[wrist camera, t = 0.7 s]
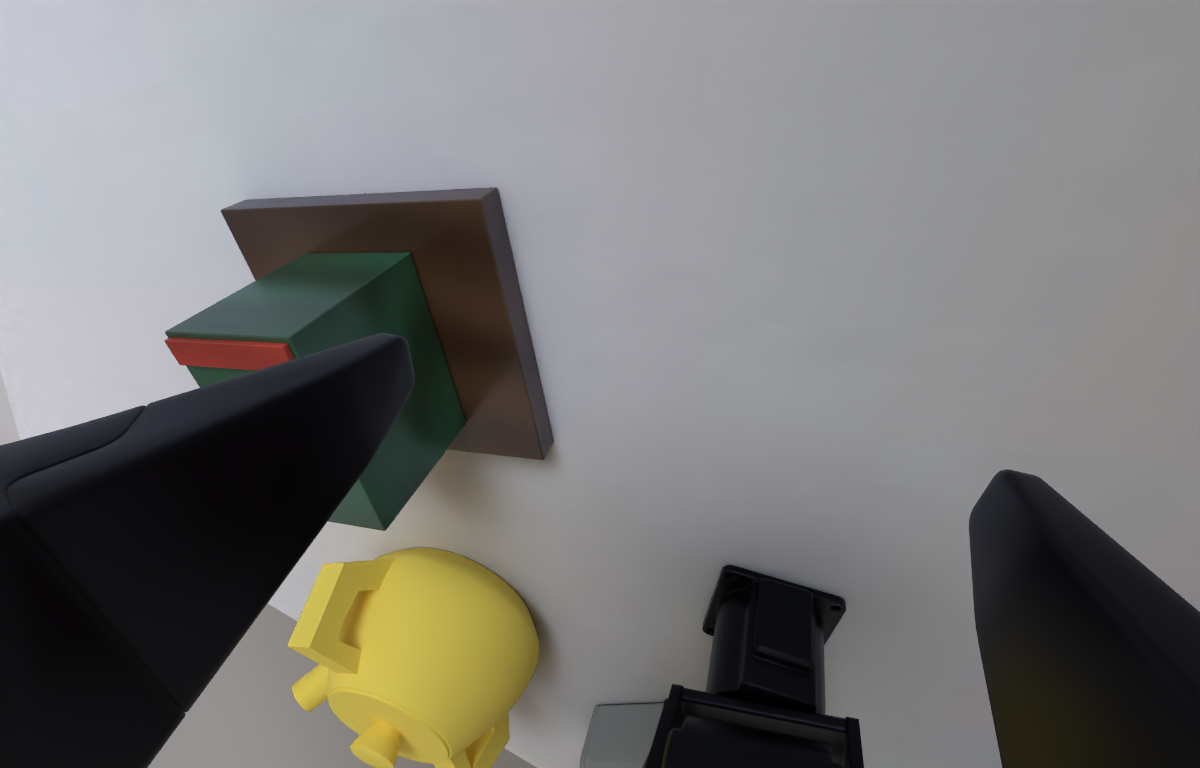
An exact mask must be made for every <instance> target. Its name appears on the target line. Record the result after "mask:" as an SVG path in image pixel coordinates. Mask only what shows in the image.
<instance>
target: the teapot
mask: <svg viewBox="0 0 1200 768" xmlns="http://www.w3.org/2000/svg"><path fill="white" fill-rule="evenodd" d="M287 646H288V647H289V648H291V649H293V650H295V651H297V652H299V653H300V654H302V655H304V656H306V657H308V658H310V659H311V660H313V661H315V662H317V663H319V665H318V666H317V667H315V668H314V669H313V670H311V671H310V672H309V673H307V674H306V675H305V676H303V677H302V678H301V679H300V680H298V681H297V682H296V683H294V684H293V685H292V691H293V694H294V696H295V698H296V700H297V702H298V703H299V704H300V706H301V707H302V708H303V709H304V710H306V711H308V712H310V711H312V710H313V709H314V708H316V707H317V706H318V705H320V704H321V703H322V702H324V701H325V700H326V699H328V701H329V705H330V707H331V709H332V711H333V712H334V713H335V714H336V716H337V717H338V718H339V719H340V720H341V721H342V722H343V723H345V724H346V725H347V726H348V727H349V728H351V729H352V730H354V731H355V732H356V733H358V734H359V735H360V736H359V737H358V738H357V739H356V740H355V741H354V742H353V743H352V745H351V746H350V749H351V750H352V752H353V753H354V755H355V756H356V757H357V758H359V759H360V760H361V761H363V762H365V763H366V764H368V765H370V766H372V767H375V768H394V766H395V762H396V759H397V755H399V756H402V757H405V758H408V759H411V760H414V761H419V762H424V763H433V764H434V765H435V767H436V768H491V767H492V765H493V764H494V762H495V761H496V759H497V758H498V756H499V755H500V753H501V752H502V750H503V748H504V747H505V745H506V744H507V742H508V741H509V739H510V733H509V716H508V711H509V710H510V709H511V708H512V707H513V705H514V704H515V703H516V701H517V700H518V698H519V697H520V696H521V694H522V693H523V691H524V690H525V688H526V687H527V685H528V683H529V682H530V680H531V678H532V676H533V674H534V672H535V670H536V667H537V665H538V662H539V651H540V646H539V640H538V636H537V632H536V629H535V626H534V623H533V621H532V618H531V615H530V613H529V610H528V608H527V607H526V605H525V603H524V602H523V600H522V599H521V598H520V596H519V595H518V594H517V593H516V592H515V591H514V589H513V588H511V587H510V586H509V585H508V584H507V583H506V582H505V581H504V580H502V579H501V578H500V577H499V576H497V575H496V574H494V573H493V572H492V571H490V570H489V569H487V568H485V567H484V566H482V565H480V564H478V563H476V562H474V561H472V560H470V559H468V558H466V557H463V556H461V555H458V554H455V553H452V552H449V551H445V550H441V549H434V548H423V547H420V548H411V549H406V550H401V551H396V552H393V553H389V554H386V555H383V556H380V557H378V558H375V559H374V560H369V561H355V562H342V563H328V564H323V566H322V568H321V570H320V573H319V575H318V577H317V580H316V582H315V584H314V586H313V589H312V591H311V593H310V595H309V598H308V600H307V602H306V605H305V607H304V609H303V611H302V614H301V616H300V618H299V620H298V623H297V625H296V627H295V630H294V632H293V634H292V636H291V639H290V641H289V643H288V645H287Z"/></svg>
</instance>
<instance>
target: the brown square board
mask: <svg viewBox="0 0 1200 768" xmlns="http://www.w3.org/2000/svg"><path fill="white" fill-rule="evenodd" d="M221 213H222V215H223V217H224V219H225V221H226V223H227V225H228V227H229V229H230V231H231V233H232V234H233V236H234V238H235V240H236V242H237V244H238V246H239V248H240V250H241V252H242V254H243V256H244V258H245V260H246V262H247V264H248V266H249V268H250V270H251V272H252V274H253V276H254V278H255V280H256V281H257V280H258V279H260V278H262V277H264V276H266V275H267V274H269V273H271V272H273V271H274V270H276V269H278V268H280V267H282V266H283V265H285V264H287V263H289V262H291V261H292V260H294V259H296V258H298V257H300V256H301V255H303V254H307V253H402V252H409V253H411V256H412V259H413V262H414V265H415V269H416V272H417V275H418V278H419V281H420V284H421V287H422V290H423V293H424V296H425V299H426V302H427V305H428V308H429V311H430V314H431V317H432V320H433V323H434V326H435V329H436V332H437V335H438V339H439V342H440V345H441V348H442V351H443V354H444V357H445V360H446V363H447V366H448V369H449V372H450V375H451V378H452V381H453V384H454V387H455V390H456V393H457V396H458V399H459V402H460V405H461V409H462V412H463V415H464V418H465V421H466V425H465V426H464V427H463V429H462V430H461V431H460V433H459V434H458V435H457V437H456V438H455V439H454V441H453V442H452V443H451V445H450V446H449V447H448V449H450V450H459V451H468V452H476V453H485V454H494V455H503V456H512V457H521V458H529V459H538V460H544V458H545V456H546V454H547V453H548V451H549V449H550V447H551V445H552V443H553V436H552V432H551V427H550V423H549V418H548V414H547V409H546V405H545V400H544V396H543V391H542V387H541V382H540V378H539V373H538V369H537V364H536V360H535V355H534V351H533V346H532V342H531V337H530V333H529V328H528V324H527V319H526V315H525V311H524V306H523V302H522V297H521V293H520V288H519V284H518V279H517V275H516V270H515V266H514V261H513V257H512V252H511V248H510V243H509V239H508V234H507V230H506V225H505V221H504V216H503V212H502V207H501V203H500V198H499V194H498V189H497V188H476V189H456V190H436V191H416V192H395V193H375V194H355V195H335V196H314V197H294V198H274V199H254V200H244V201H242V202H239V203H237V204H234V205H232V206H229V207H227V208H224V209H222V210H221Z"/></svg>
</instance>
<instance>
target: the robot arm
mask: <svg viewBox="0 0 1200 768" xmlns="http://www.w3.org/2000/svg"><path fill="white" fill-rule="evenodd" d="M414 380H415V378H414V371H413V365H412V360H411V354H410V349H409V344H408V342H407V340H406V339H405V338H403V337H401V336H397V335H392V334H388V333H378V334H375V335H372V336H368V337H365V338H362V339H359V340H355V341H352V342H349V343H345V344H342V345H339V346H336V347H332V348H329V349H326V350H323V351H319V352H316V353H313V354H309V355H306V356H303V357H300V358H296V359H293V360H290V361H287V362H283V363H280V364H277V365H273V366H270V367H267V368H264V369H260V370H257V371H254V372H251V373H247V374H244V375H241V376H237V377H234V378H231V379H228V380H224V381H221V382H218V383H215V384H211V385H208V386H205V387H202V388H198V389H195V390H192V391H188V392H185V393H182V394H179V395H175V396H172V397H169V398H166V399H162V400H159V401H156V402H152V403H150V404H148V405H147V407H146V406H139V407H136V408H132V409H129V410H126V411H123V412H119V413H116V414H113V415H109V416H106V417H103V418H99V419H96V420H92V421H89V422H85V423H82V424H79V425H75V426H72V427H68V428H65V429H61V430H57V431H53V432H50V433H46V434H42V435H39V436H35V437H31V438H27V439H24V440H20V441H17V442H13V443H9V444H5V445H1V446H0V768H147V767H148V766H149V765H150V763H151V761H152V760H153V759H154V758H155V756H156V755H157V754H158V752H159V751H160V750H161V748H162V747H163V745H164V744H165V743H166V741H167V740H168V738H169V737H170V736H171V735H172V733H173V731H174V730H175V729H176V728H177V726H178V725H179V724H180V722H181V721H182V719H183V718H184V717H185V712H187V711H189V709H190V708H191V707H192V705H193V704H194V703H195V701H196V700H197V698H198V697H199V696H200V694H201V693H202V692H203V690H204V689H205V688H206V686H207V685H208V683H209V682H210V681H211V679H212V678H213V677H214V675H215V674H216V673H217V671H218V670H219V668H220V667H221V666H222V664H223V663H224V662H225V660H226V659H227V657H228V656H229V655H230V653H231V652H232V651H233V649H234V648H235V647H236V645H237V644H238V642H239V641H240V640H241V638H242V637H243V636H244V634H245V633H246V632H247V630H248V629H249V628H250V626H251V625H252V623H253V622H254V621H255V619H256V618H257V617H258V615H259V614H260V613H261V611H262V610H263V608H264V607H265V606H266V604H267V603H268V602H269V600H270V599H271V598H272V596H273V595H274V593H275V592H276V591H277V589H278V588H279V587H280V585H281V584H282V583H283V581H284V580H285V578H286V577H287V576H288V574H289V573H290V572H291V570H292V569H293V568H294V566H295V565H296V563H297V562H298V561H299V559H300V558H301V557H302V555H303V554H304V553H305V551H306V550H307V548H308V547H309V546H310V544H311V543H312V542H313V540H314V539H315V538H316V536H317V535H318V533H319V532H320V531H321V529H322V528H323V527H324V525H325V524H326V523H327V521H328V520H329V518H330V517H331V516H332V514H333V513H334V512H335V510H336V509H337V508H338V506H339V505H340V503H341V502H342V501H343V499H344V498H345V497H346V495H347V494H348V493H349V491H350V490H351V488H352V487H353V486H354V484H355V483H356V482H357V480H358V479H359V478H360V476H361V475H362V473H363V472H364V471H365V469H366V468H367V466H368V465H369V463H370V462H371V460H372V459H373V457H374V456H375V454H376V452H377V451H378V449H379V447H380V446H381V444H382V442H383V440H384V439H385V437H386V435H387V434H388V432H389V430H390V428H391V427H392V425H393V423H394V421H395V420H396V418H397V416H398V415H399V413H400V411H401V409H402V408H403V406H404V404H405V402H406V401H407V399H408V397H409V396H410V394H411V392H412V390H413V387H414ZM969 535H970V551H971V566H972V582H973V598H974V612H975V622H976V630H977V636H978V642H979V648H980V653H981V658H982V663H983V669H984V674H985V679H986V684H987V689H988V694H989V700H990V705H991V710H992V715H993V720H994V725H995V731H996V736H997V741H998V746H999V751H1000V756H1001V762H1002V767H1003V768H1200V612H1199V611H1198V610H1197V609H1195V608H1194V607H1193V606H1192V605H1191V604H1189V603H1188V602H1187V601H1186V600H1185V599H1184V598H1182V597H1181V596H1180V595H1179V594H1178V593H1176V592H1175V591H1174V590H1173V589H1172V588H1170V587H1169V586H1168V585H1167V584H1166V583H1165V582H1163V581H1162V580H1161V579H1160V578H1159V577H1157V576H1156V575H1155V574H1154V573H1153V572H1151V571H1150V570H1149V569H1148V568H1147V567H1145V566H1144V565H1143V564H1142V563H1141V562H1140V561H1138V560H1137V559H1136V558H1135V557H1134V556H1132V555H1131V554H1130V553H1129V552H1128V551H1126V550H1125V549H1124V548H1123V547H1122V546H1121V545H1119V544H1118V543H1117V542H1116V541H1115V540H1113V539H1112V538H1111V537H1110V536H1109V535H1107V534H1106V533H1105V532H1104V531H1103V530H1102V529H1100V528H1099V527H1098V526H1097V525H1096V524H1094V523H1093V522H1092V521H1091V520H1090V519H1088V518H1087V517H1086V516H1085V515H1084V514H1082V513H1081V512H1080V511H1079V510H1078V509H1077V508H1075V507H1074V506H1073V505H1072V504H1071V503H1069V502H1068V501H1067V500H1066V499H1065V498H1063V497H1062V496H1061V495H1060V494H1059V493H1058V492H1056V491H1055V490H1054V489H1053V488H1052V487H1050V486H1049V485H1048V484H1047V483H1046V482H1044V481H1043V480H1042V479H1041V478H1039V477H1037V476H1035V475H1031V474H1026V473H1022V472H1017V471H1012V470H1002V471H1000V472H998V473H997V474H996V475H995V476H994V478H993V479H992V481H991V482H990V484H989V485H988V487H987V488H986V490H985V491H984V493H983V494H982V496H981V497H980V499H979V500H978V502H977V503H976V505H975V506H974V508H973V510H972V512H971V515H970V519H969ZM845 611H846V602H845V600H844V599H843V598H841V597H839V596H835V595H832V594H829V593H825V592H822V591H818V590H815V589H811V588H808V587H805V586H801V585H798V584H794V583H791V582H787V581H784V580H781V579H777V578H774V577H770V576H767V575H763V574H760V573H757V572H753V571H750V570H746V569H743V568H739V567H736V566H732V565H726V566H724V567H723V568H722V571H721V574H720V577H719V579H718V582H717V585H716V588H715V591H714V594H713V596H712V599H711V602H710V605H709V608H708V611H707V613H706V616H705V619H704V622H703V631H704V632H705V633H706V634H708V635H711V636H714V638H713V645H712V652H711V659H710V666H709V673H708V680H707V687H706V692H702V691H697V690H692V689H687V688H684V687H683V686H681V685H676V684H672V687H671V691H670V694H669V697H668V699H667V698H666V700H665V701H664V705H663V709H662V713H661V716H660V719H659V723H658V726H657V729H656V733H655V736H654V739H653V743H652V746H651V749H650V751H649V754H648V756H647V758H646V760H645V762H644V764H643V767H642V768H864V764H863V755H862V745H861V736H860V726H859V719H856V718H850V717H846V719H844V718H839V717H834V716H828V715H825V675H824V645H825V643H826V641H827V640H828V638H829V637H830V635H831V633H832V632H833V630H834V629H835V627H836V625H837V624H838V622H839V621H840V619H841V617H842V616H843V614H844V613H845Z"/></svg>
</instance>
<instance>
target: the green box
mask: <svg viewBox="0 0 1200 768" xmlns="http://www.w3.org/2000/svg"><path fill="white" fill-rule="evenodd" d="M165 333H166V335H167V336H168V339H166V340H165V343H166V344H167V346H168V347H169V349H170V350H171V352H172V354H173V355H174V357H175V358H176V360H177V361H178V363H179V364H180V365H186V366H187V368H188V369H189V371H190V373H191V374H192V376H193V377H194V379H195V380H196V382H197V384H198V385H199V387H200V388H202V387H205V386H208V385H211V384H215V383H218V382H221V381H224V380H228V379H231V378H234V377H237V376H241V375H244V374H247V373H251V372H254V371H257V370H260V369H264V368H267V367H270V366H273V365H277V364H280V363H283V362H287V361H290V360H293V359H296V358H300V357H303V356H306V355H309V354H313V353H316V352H319V351H323V350H326V349H329V348H332V347H336V346H339V345H342V344H345V343H349V342H352V341H355V340H359V339H362V338H365V337H368V336H372V335H375V334H378V333H388V334H392V335H397V336H401V337H403V338H405V339H406V340H407V342H408V344H409V349H410V354H411V360H412V365H413V371H414V378H415V380H414V387H413V390H412V392H411V394H410V396H409V397H408V399H407V401H406V402H405V404H404V406H403V408H402V409H401V411H400V413H399V415H398V416H397V418H396V420H395V421H394V423H393V425H392V427H391V428H390V430H389V432H388V434H387V435H386V437H385V439H384V440H383V442H382V444H381V446H380V447H379V449H378V451H377V452H376V454H375V456H374V457H373V459H372V460H371V462H370V463H369V465H368V466H367V468H366V469H365V471H364V472H363V473H362V475H361V476H360V478H359V479H358V480H357V482H356V483H355V484H354V486H353V487H352V488H351V490H350V491H349V493H348V494H347V495H346V497H345V498H344V499H343V501H342V502H341V503H340V505H339V506H338V508H337V509H336V510H335V512H334V513H333V514H332V516H331V517H330V518H329V520H328V521H330V522H335V523H341V524H347V525H353V526H359V527H365V528H371V529H376V530H382V531H385V530H386V529H387V528H388V527H389V525H390V524H391V523H392V521H393V520H394V519H395V517H396V516H397V515H398V514H399V512H400V511H401V510H402V508H403V507H404V506H405V504H406V503H407V502H408V500H409V499H410V498H411V496H412V495H413V494H414V492H415V491H416V490H417V488H418V487H419V486H420V484H421V483H422V482H423V480H424V479H425V478H426V476H427V475H428V474H429V472H430V471H431V470H432V469H433V467H434V466H435V465H436V463H437V462H438V461H439V459H440V458H441V457H442V455H443V454H444V453H445V451H446V450H447V449H448V447H449V446H450V445H451V443H452V442H453V441H454V439H455V438H456V437H457V435H458V434H459V433H460V431H461V430H462V429H463V427H464V426H465V425H466V421H465V418H464V415H463V412H462V409H461V405H460V402H459V399H458V396H457V393H456V390H455V387H454V384H453V381H452V378H451V375H450V372H449V369H448V366H447V363H446V360H445V357H444V354H443V351H442V348H441V345H440V342H439V339H438V335H437V332H436V329H435V326H434V323H433V320H432V317H431V314H430V311H429V308H428V305H427V302H426V299H425V296H424V293H423V290H422V287H421V284H420V281H419V278H418V275H417V272H416V269H415V265H414V262H413V259H412V256H411V253H409V252H402V253H307V254H303V255H301V256H300V257H298V258H296V259H294V260H292V261H291V262H289V263H287V264H285V265H283V266H282V267H280V268H278V269H276V270H274V271H273V272H271V273H269V274H267V275H266V276H264V277H262V278H260V279H258V280H257V281H255V282H253V283H251V284H249V285H248V286H246V287H244V288H242V289H241V290H239V291H237V292H235V293H233V294H232V295H230V296H228V297H226V298H224V299H223V300H221V301H219V302H217V303H216V304H214V305H212V306H210V307H208V308H207V309H205V310H203V311H201V312H199V313H198V314H196V315H194V316H192V317H191V318H189V319H187V320H185V321H183V322H182V323H180V324H178V325H176V326H174V327H173V328H171V329H169V330H167V331H166V332H165Z"/></svg>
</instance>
